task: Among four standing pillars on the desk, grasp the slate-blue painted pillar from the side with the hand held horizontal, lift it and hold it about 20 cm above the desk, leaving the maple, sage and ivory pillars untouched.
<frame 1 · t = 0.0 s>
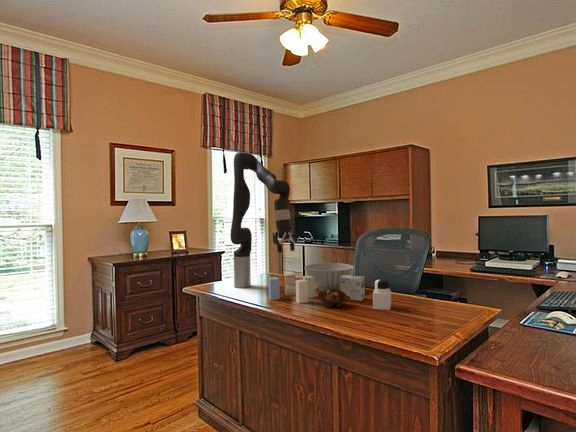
hand: (286, 251, 185), 22 cm above the table, tool pointing down, fingers open, 8 cm apart
sage pillar: (308, 296, 183), on the table
light bulb box: (352, 299, 179), on the table
slate-blue pillar: (274, 298, 180), on the table
ivory pillar: (301, 301, 174), on the table
maple pillar: (290, 294, 189), on the table
medicine bottle: (382, 308, 162), on the table
decorative bowl: (329, 289, 201), on the table
decorative turtle: (333, 306, 165), on the table
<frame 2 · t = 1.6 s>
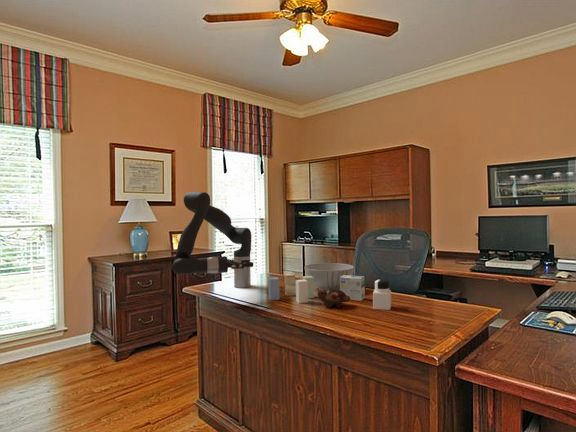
hand: (251, 263, 177), 18 cm above the table, tool horizontal, fingers open, 8 cm apart
nothing on the table moved.
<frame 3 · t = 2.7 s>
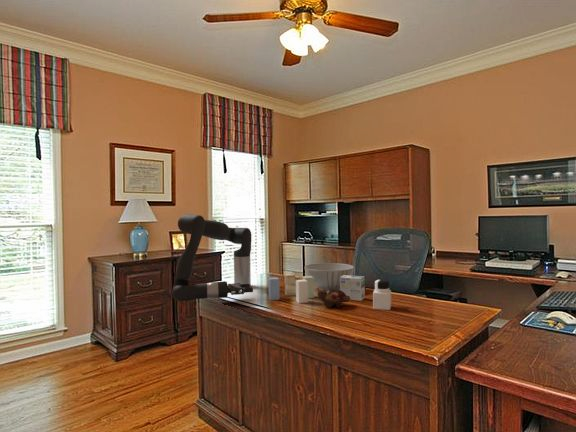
hand: (251, 287, 177), 6 cm above the table, tool horizontal, fingers open, 8 cm apart
nothing on the table moved.
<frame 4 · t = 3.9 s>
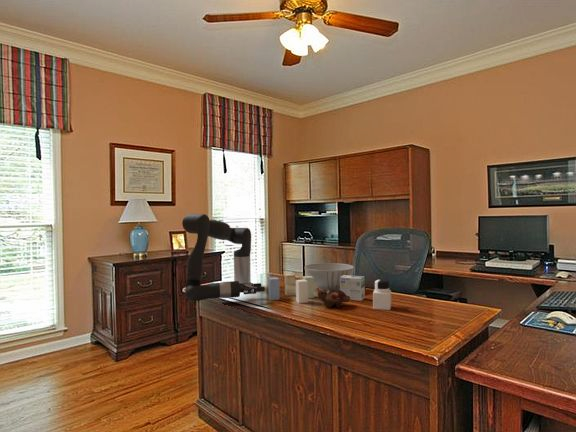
hand: (262, 287, 179), 6 cm above the table, tool horizontal, fingers open, 8 cm apart
nothing on the table moved.
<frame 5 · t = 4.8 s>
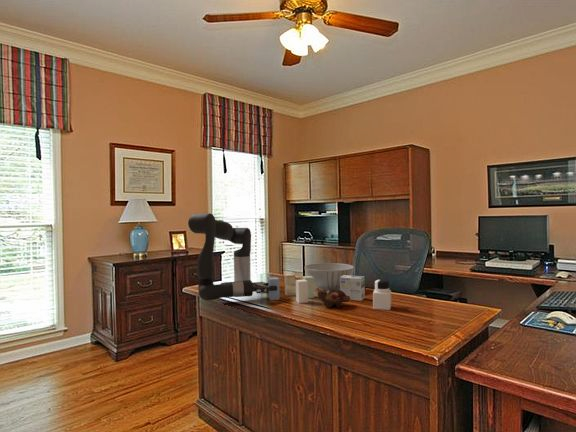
hand: (274, 286, 180), 6 cm above the table, tool horizontal, fingers open, 8 cm apart
nothing on the table moved.
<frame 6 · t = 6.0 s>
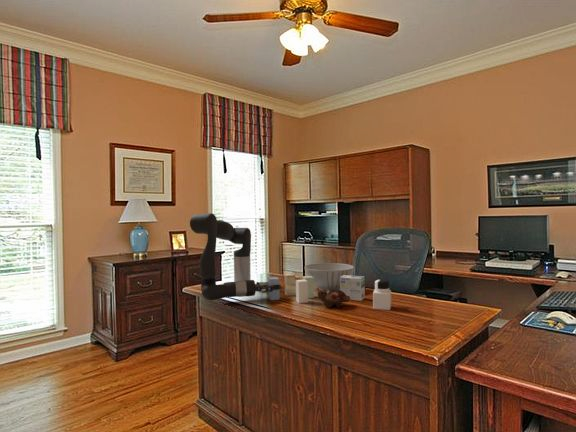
hand: (279, 285, 181), 6 cm above the table, tool horizontal, fingers closed on slate-blue pillar, 4 cm apart
slate-blue pillar: (274, 298, 181), on the table, touching gripper
everything else where it was.
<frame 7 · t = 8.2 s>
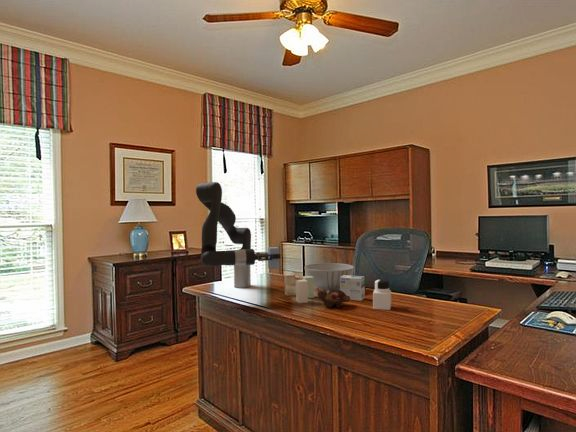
hand: (278, 255, 181), 21 cm above the table, tool horizontal, fingers closed on slate-blue pillar, 4 cm apart
slate-blue pillar: (273, 268, 180), point 15 cm above the table, touching gripper
everything else where it was.
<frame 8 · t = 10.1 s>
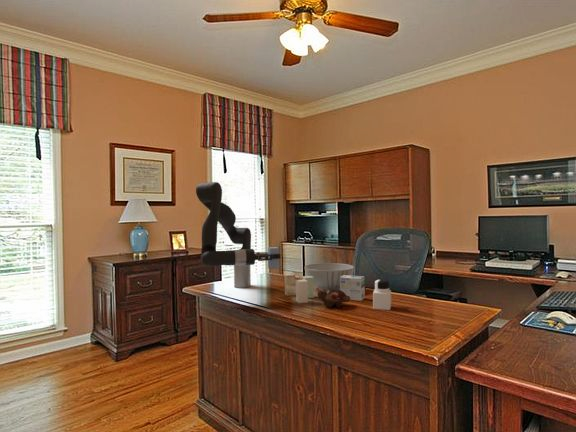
hand: (278, 255, 181), 21 cm above the table, tool horizontal, fingers closed on slate-blue pillar, 4 cm apart
slate-blue pillar: (273, 268, 180), point 15 cm above the table, touching gripper
everything else where it was.
at the end: the gripper is holding slate-blue pillar; slate-blue pillar point 14.9 cm above the table; maple pillar moved 0.0 cm from its start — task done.
